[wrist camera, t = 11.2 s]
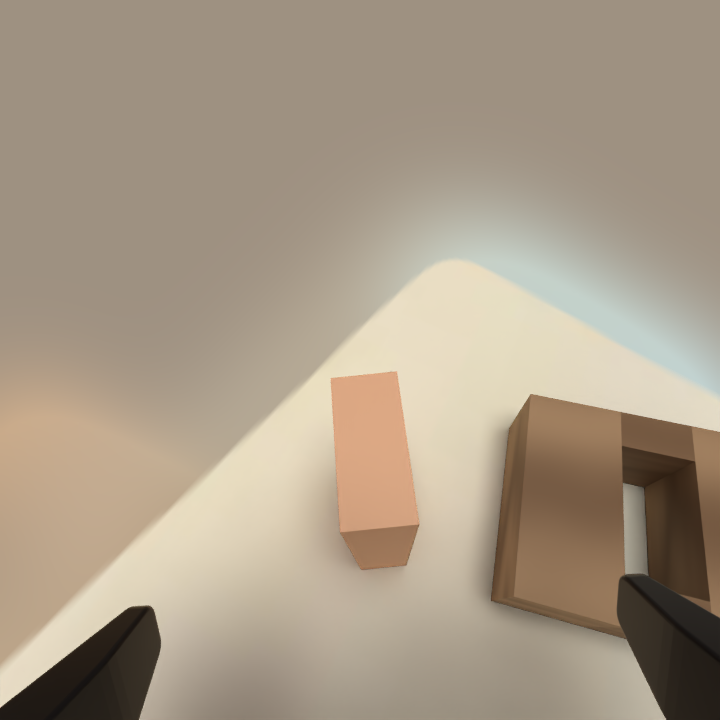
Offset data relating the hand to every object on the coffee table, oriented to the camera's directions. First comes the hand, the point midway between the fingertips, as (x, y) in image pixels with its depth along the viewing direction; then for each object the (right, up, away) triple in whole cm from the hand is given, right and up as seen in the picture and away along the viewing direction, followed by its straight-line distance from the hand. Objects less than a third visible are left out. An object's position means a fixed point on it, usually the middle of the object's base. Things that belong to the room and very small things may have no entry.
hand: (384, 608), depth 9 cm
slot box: (+11, -3, +11) cm, 16 cm away
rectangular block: (0, -3, +12) cm, 13 cm away
